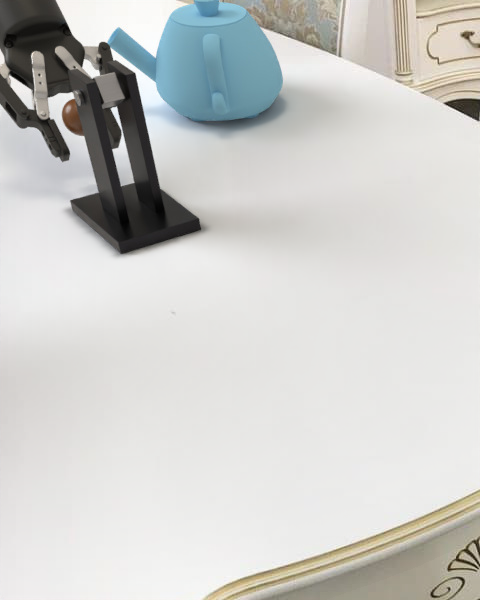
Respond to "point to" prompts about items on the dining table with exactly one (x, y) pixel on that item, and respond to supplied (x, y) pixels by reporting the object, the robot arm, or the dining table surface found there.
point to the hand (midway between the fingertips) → (91, 150)
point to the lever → (108, 96)
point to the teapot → (209, 62)
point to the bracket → (145, 190)
